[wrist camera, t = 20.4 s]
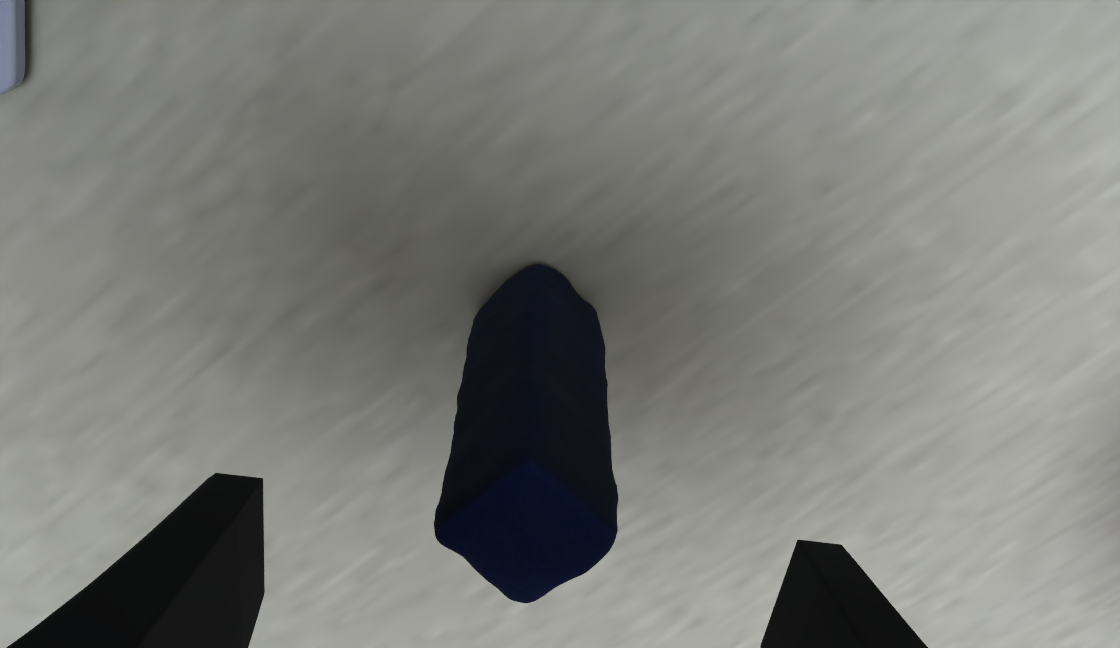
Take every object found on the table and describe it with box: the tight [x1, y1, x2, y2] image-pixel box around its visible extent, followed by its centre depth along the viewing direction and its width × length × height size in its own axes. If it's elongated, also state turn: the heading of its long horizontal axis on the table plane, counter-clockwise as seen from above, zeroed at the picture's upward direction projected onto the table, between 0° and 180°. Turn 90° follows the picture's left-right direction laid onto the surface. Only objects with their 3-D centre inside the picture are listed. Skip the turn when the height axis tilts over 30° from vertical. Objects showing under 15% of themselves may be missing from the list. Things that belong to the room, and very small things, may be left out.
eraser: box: [434, 265, 618, 603], centre depth 16 cm, size 2×2×7 cm
